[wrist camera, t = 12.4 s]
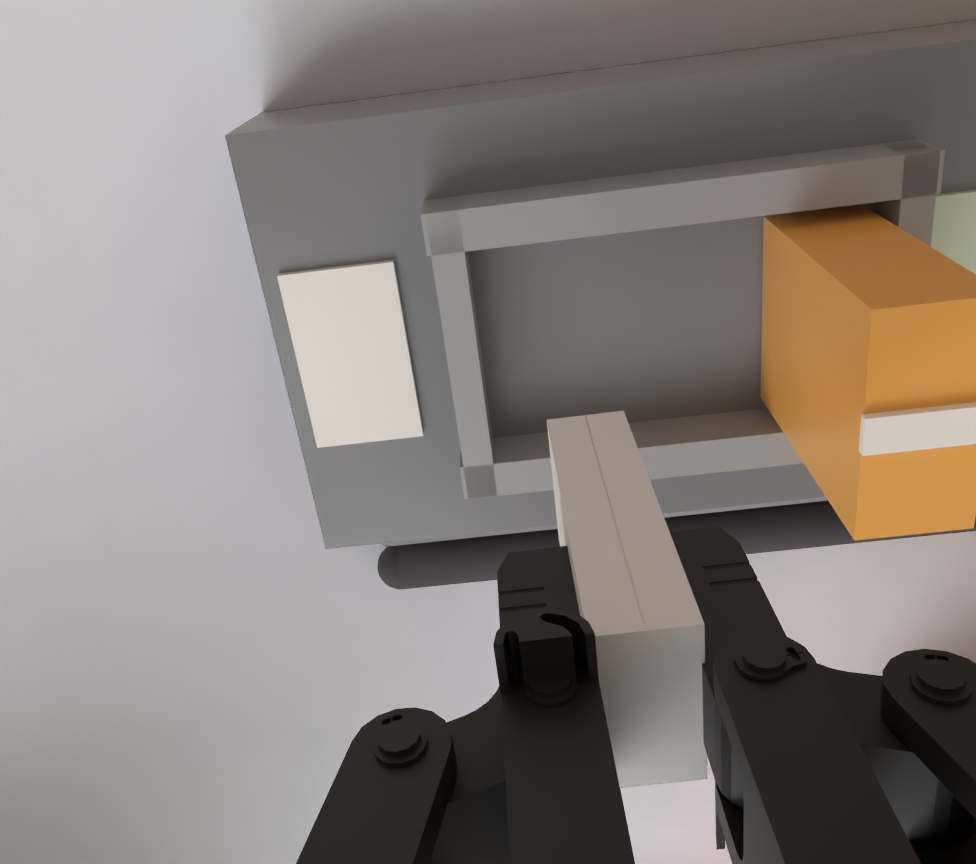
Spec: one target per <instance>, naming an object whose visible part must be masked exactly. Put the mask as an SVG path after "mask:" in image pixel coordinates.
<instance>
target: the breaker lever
mask: <svg viewBox="0 0 976 864" xmlns="http://www.w3.org/2000/svg"><path fill="white" fill-rule="evenodd" d="M760 397H761V399H762V400H763V402H764V403H765V405H766V407H767V408H768V410H769V411H770V413H771V414H772V416H773V417H774V419H775V420H776V422H777V423H778V425H779V426H780V428H781V429H782V431H783V432H784V434H785V436H786V437H787V439H788V440H789V442H790V443H791V445H792V446H793V448H794V449H795V451H796V452H797V454H798V455H799V457H800V458H801V460H802V461H803V463H804V465H805V466H806V468H807V469H808V471H809V472H810V474H811V475H812V477H813V478H814V480H815V481H816V483H817V484H818V486H819V487H820V489H821V490H822V492H823V494H824V495H825V497H826V498H827V500H828V501H829V503H830V504H831V506H832V507H833V509H834V510H835V512H836V513H837V515H838V516H839V518H840V519H841V521H842V523H843V524H844V526H845V527H846V529H847V530H848V532H849V533H850V535H851V536H852V538H853V539H854V541H855V540H865V539H875V538H885V537H895V536H904V535H914V534H924V533H934V532H944V531H953V530H963V529H973V528H974V523H975V517H976V274H974V273H973V272H971V271H969V270H968V269H966V268H964V267H963V266H961V265H959V264H958V263H956V262H955V261H953V260H951V259H950V258H948V257H946V256H945V255H943V254H941V253H940V252H938V251H937V250H935V249H933V248H932V247H930V246H928V245H927V244H925V243H923V242H922V241H920V240H919V239H917V238H915V237H914V236H912V235H910V234H909V233H907V232H905V231H904V230H902V229H901V228H899V227H897V226H896V225H894V224H892V223H891V222H889V221H887V220H886V219H884V218H883V217H881V216H879V215H878V214H876V213H874V212H873V211H871V210H869V209H868V208H866V207H865V206H863V205H853V206H845V207H837V208H828V209H820V210H812V211H804V212H795V213H787V214H779V215H770V216H764V228H763V283H762V339H761V394H760Z"/></svg>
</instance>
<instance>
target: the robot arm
mask: <svg viewBox="0 0 976 864" xmlns="http://www.w3.org/2000/svg"><path fill="white" fill-rule="evenodd" d="M547 429H548V439H549V448H550V458H551V468H552V478H553V488H554V497H555V507H556V517H557V527H558V537H559V543H560V547H552V548H543V549H534V550H525V551H517V552H508V554H507V556H506V557H505V559H504V561H503V562H502V564H501V566H500V568H499V569H498V571H497V579H498V594H499V596H498V598H499V616H500V629H499V630H498V631H497V633H496V637H495V641H494V652H495V658H496V665H497V672H498V679H499V685H500V686H499V688H498V690H497V692H496V693H495V694H494V695H493V697H492V698H491V699H490V700H489V701H488V702H487V703H486V704H484V705H483V706H482V707H480V708H479V709H477V710H476V711H474V712H471V713H469V714H467V715H465V716H463V717H460V718H458V719H455V720H452V721H450V722H447V723H446V721H445V720H444V719H442V718H441V717H439V716H438V715H437V714H435V713H434V712H432V711H428V710H424V709H419V708H404V709H395V710H392V711H390V712H387V713H384V714H381V715H379V716H377V717H375V718H374V719H373V720H371V721H370V722H368V723H367V724H366V725H364V726H363V727H362V728H361V729H360V731H359V732H358V734H357V735H356V736H355V738H354V739H353V741H352V742H351V745H350V747H349V749H348V751H347V753H346V756H345V758H344V760H343V762H342V764H341V767H340V769H339V771H338V773H337V775H336V778H335V780H334V782H333V784H332V786H331V788H330V791H329V793H328V795H327V797H326V799H325V802H324V804H323V806H322V808H321V810H320V813H319V815H318V817H317V819H316V821H315V824H314V826H313V828H312V830H311V832H310V835H309V837H308V839H307V841H306V843H305V845H304V848H303V850H302V852H301V854H300V856H299V859H298V861H297V863H296V864H635V862H634V857H633V852H632V846H631V841H630V836H629V831H628V826H627V821H626V816H625V811H624V806H623V801H622V796H621V791H620V788H622V787H632V786H641V785H651V784H661V783H670V782H680V781H689V780H699V779H707V756H708V759H709V762H710V765H711V768H712V771H713V775H714V778H715V799H716V844H717V849H725V841H726V844H727V847H728V851H729V854H730V857H731V860H732V864H976V664H975V663H974V662H972V661H971V660H969V659H967V658H964V657H961V656H958V655H955V654H952V653H949V652H947V651H938V650H929V649H921V650H914V651H906V652H903V653H901V654H900V655H898V656H896V657H894V658H892V659H890V661H889V662H888V664H887V665H886V667H885V668H884V670H883V676H877V675H868V674H860V673H852V672H846V671H841V670H835V669H831V668H828V667H826V666H823V665H820V664H817V663H816V661H815V659H814V657H813V656H812V655H811V654H810V653H809V652H808V650H807V649H806V648H805V647H804V646H802V645H801V644H799V643H797V642H795V641H794V640H792V639H790V638H788V637H786V635H785V633H784V631H783V629H782V627H781V625H780V623H779V621H778V619H777V617H776V615H775V613H774V611H773V609H772V607H771V605H770V602H769V600H768V598H767V596H766V594H765V592H764V590H763V588H762V586H761V584H760V582H759V581H757V576H756V574H755V572H754V570H753V568H752V566H751V565H749V560H748V558H747V556H746V554H745V552H744V550H743V548H742V546H741V544H740V542H739V541H737V540H736V539H735V538H733V537H732V536H731V535H729V534H728V533H727V532H725V531H724V530H723V529H721V528H720V527H718V526H717V527H709V528H700V529H691V530H682V531H674V532H669V529H668V527H667V524H666V521H665V519H664V516H663V513H662V511H661V508H660V505H659V503H658V500H657V497H656V495H655V492H654V490H653V487H652V484H651V482H650V479H649V476H648V474H647V471H646V468H645V466H644V463H643V460H642V458H641V455H640V453H639V450H638V447H637V445H636V442H635V439H634V437H633V434H632V431H631V429H630V426H629V424H628V421H627V418H626V416H625V413H624V411H616V412H607V413H599V414H590V415H582V416H573V417H565V418H557V419H548V420H547Z"/></svg>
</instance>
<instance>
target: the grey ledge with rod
mask: <svg viewBox="0 0 976 864" xmlns="http://www.w3.org/2000/svg"><path fill="white" fill-rule="evenodd" d="M663 516H664V519H665V521H666V524H667V527H668V529H669V532H674V531H682V530H691V529H700V528H709V527H717V526H718V527H720V528H721V529H723V530H724V531H725V532H727V533H728V534H729V535H731V536H732V537H733V538H735V539H736V540H737V541H739V542H740V544H741V546H742V548H743V550H744V552H745V554H752V553H762V552H771V551H781V550H791V549H801V548H811V547H820V546H830V545H840V544H850V543H860V542H869V541H879V540H889V539H899V538H909V537H918V536H928V535H938V534H948V533H958V532H967V531H976V517H975V523H974V528H973V529H963V530H953V531H944V532H934V533H924V534H914V535H904V536H895V537H885V538H875V539H865V540H855V541H854V539H853V538H852V536H851V535H850V533H849V532H848V530H847V529H846V527H845V526H844V524H843V523H842V521H841V519H840V518H839V516H838V515H837V513H836V512H835V510H834V509H833V507H832V506H831V504H830V503H829V501H828V500H827V498H826V497H817V498H807V499H798V500H788V501H779V502H769V503H760V504H750V505H740V506H731V507H721V508H712V509H702V510H693V511H683V512H674V513H664V514H663ZM381 544H384V545H387V546H388V547H387V548H386V549H385V550H384V551H383V552H382V553H381V555H380V557H379V560H378V572H379V575H380V577H381V579H382V580H383V581H384V583H385V584H387V585H388V586H390V587H392V588H396V589H409V588H419V587H428V586H438V585H448V584H458V583H468V582H477V581H487V580H497V571H498V569H499V568H500V566H501V564H502V562H503V561H504V559H505V557H506V556H507V554H508V552H517V551H525V550H534V549H543V548H552V547H560V543H559V537H558V527H557V525H550V526H540V527H530V528H521V529H511V530H502V531H492V532H483V533H473V534H464V535H454V536H444V537H435V538H425V539H416V540H406V541H397V542H387V543H381Z"/></svg>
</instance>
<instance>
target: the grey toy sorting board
mask: <svg viewBox="0 0 976 864" xmlns="http://www.w3.org/2000/svg"><path fill="white" fill-rule="evenodd" d="M225 137H226V141H227V145H228V149H229V153H230V157H231V162H232V166H233V170H234V174H235V178H236V182H237V186H238V190H239V194H240V198H241V203H242V207H243V211H244V215H245V219H246V223H247V227H248V231H249V235H250V239H251V244H252V248H253V252H254V256H255V260H256V264H257V268H258V272H259V276H260V280H261V285H262V289H263V293H264V297H265V301H266V305H267V309H268V313H269V317H270V322H271V326H272V330H273V334H274V338H275V342H276V346H277V350H278V354H279V358H280V363H281V367H282V371H283V375H284V379H285V383H286V387H287V391H288V395H289V399H290V404H291V408H292V412H293V416H294V420H295V424H296V428H297V432H298V436H299V441H300V445H301V449H302V453H303V457H304V461H305V465H306V469H307V473H308V477H309V482H310V486H311V490H312V494H313V498H314V502H315V506H316V510H317V514H318V518H319V523H320V527H321V531H322V535H323V539H324V543H325V547H326V549H330V548H339V547H349V546H359V545H368V544H378V543H387V542H397V541H406V540H416V539H425V538H435V537H444V536H454V535H464V534H473V533H483V532H492V531H502V530H511V529H521V528H530V527H540V526H550V525H557V517H556V507H555V497H554V488H553V478H552V468H551V458H550V448H549V439H548V429H547V420H548V419H557V418H565V417H573V416H582V415H590V414H599V413H607V412H616V411H624V413H625V416H626V418H627V421H628V424H629V426H630V429H631V431H632V434H633V437H634V439H635V442H636V445H637V447H638V450H639V453H640V455H641V458H642V460H643V463H644V466H645V468H646V471H647V474H648V476H649V479H650V482H651V484H652V487H653V490H654V492H655V495H656V497H657V500H658V503H659V505H660V508H661V511H662V513H663V514H664V513H674V512H683V511H693V510H702V509H712V508H721V507H731V506H740V505H750V504H760V503H769V502H779V501H788V500H798V499H807V498H817V497H825V495H824V494H823V492H822V490H821V489H820V487H819V486H818V484H817V483H816V481H815V480H814V478H813V477H812V475H811V474H810V472H809V471H808V469H807V468H806V466H805V465H804V463H803V461H802V460H801V458H800V457H799V455H798V454H797V452H796V451H795V449H794V448H793V446H792V445H791V443H790V442H789V440H788V439H787V437H786V436H785V434H784V432H783V431H782V429H781V428H780V426H779V425H778V423H777V422H776V420H775V419H774V417H773V416H772V414H771V413H770V411H769V410H768V408H767V407H766V405H765V403H764V402H763V400H762V399H761V397H760V394H761V339H762V283H763V228H764V216H770V215H779V214H787V213H795V212H804V211H812V210H820V209H828V208H837V207H845V206H853V205H863V206H865V207H866V208H868V209H869V210H871V211H873V212H874V213H876V214H878V215H879V216H881V217H883V218H884V219H886V220H887V221H889V222H891V223H892V224H894V225H896V226H897V227H899V228H901V229H902V230H904V231H905V232H907V233H909V234H910V235H912V236H914V237H915V238H917V239H919V240H920V241H922V242H923V243H925V244H927V245H928V246H930V247H932V248H933V249H935V250H937V251H938V252H940V253H941V254H943V255H945V256H946V257H948V258H950V259H951V260H953V261H955V262H956V263H958V264H959V265H961V266H963V267H964V268H966V269H968V270H969V271H971V272H973V273H974V274H976V20H970V21H963V22H955V23H947V24H939V25H932V26H924V27H916V28H909V29H901V30H893V31H885V32H878V33H870V34H862V35H855V36H847V37H839V38H831V39H824V40H816V41H808V42H801V43H793V44H785V45H777V46H770V47H762V48H754V49H747V50H739V51H731V52H723V53H716V54H708V55H700V56H693V57H685V58H677V59H670V60H662V61H654V62H646V63H639V64H631V65H623V66H616V67H608V68H600V69H592V70H585V71H577V72H569V73H562V74H554V75H546V76H538V77H531V78H523V79H515V80H508V81H500V82H492V83H484V84H477V85H469V86H461V87H454V88H446V89H438V90H430V91H423V92H415V93H407V94H400V95H392V96H384V97H376V98H369V99H361V100H353V101H346V102H338V103H330V104H322V105H315V106H307V107H299V108H292V109H284V110H276V111H269V112H261V113H260V114H258V115H257V116H255V117H254V118H252V119H250V120H249V121H247V122H246V123H244V124H242V125H241V126H239V127H238V128H236V129H234V130H233V131H231V132H230V133H228V134H227V135H225Z"/></svg>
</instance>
